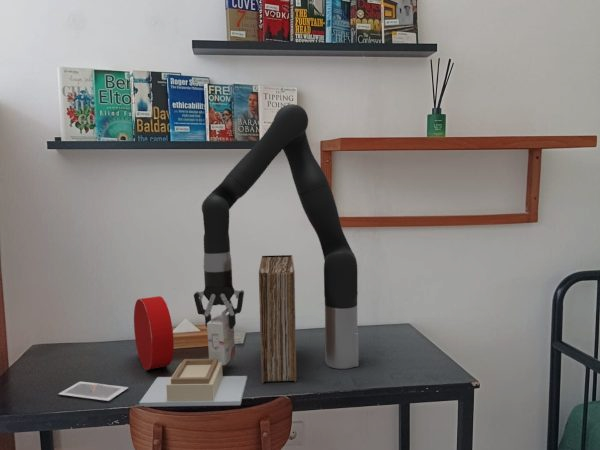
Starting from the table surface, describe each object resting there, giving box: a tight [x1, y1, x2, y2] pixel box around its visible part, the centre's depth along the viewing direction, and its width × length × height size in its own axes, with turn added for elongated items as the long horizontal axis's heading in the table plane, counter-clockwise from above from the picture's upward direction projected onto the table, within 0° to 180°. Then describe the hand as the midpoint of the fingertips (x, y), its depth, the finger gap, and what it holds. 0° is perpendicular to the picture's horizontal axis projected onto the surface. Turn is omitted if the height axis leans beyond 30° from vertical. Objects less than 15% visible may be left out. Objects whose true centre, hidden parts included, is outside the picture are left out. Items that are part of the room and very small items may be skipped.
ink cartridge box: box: [206, 308, 236, 366], centre depth 137 cm, size 9×5×15 cm, turn 169°
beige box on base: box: [138, 358, 248, 408], centre depth 124 cm, size 24×15×6 cm, turn 90°
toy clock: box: [133, 295, 175, 371], centre depth 141 cm, size 20×6×20 cm, turn 32°
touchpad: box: [58, 380, 129, 402], centre depth 125 cm, size 8×15×2 cm, turn 73°
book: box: [258, 254, 297, 385], centre depth 140 cm, size 25×9×30 cm, turn 2°
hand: (220, 328), depth 137 cm, fingers closed on ink cartridge box, 5 cm apart
